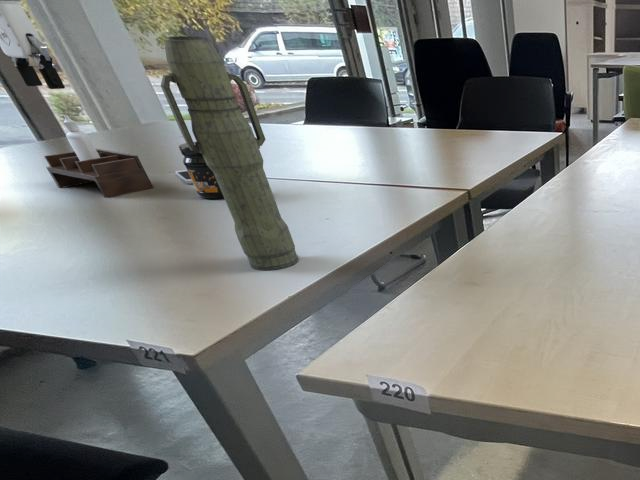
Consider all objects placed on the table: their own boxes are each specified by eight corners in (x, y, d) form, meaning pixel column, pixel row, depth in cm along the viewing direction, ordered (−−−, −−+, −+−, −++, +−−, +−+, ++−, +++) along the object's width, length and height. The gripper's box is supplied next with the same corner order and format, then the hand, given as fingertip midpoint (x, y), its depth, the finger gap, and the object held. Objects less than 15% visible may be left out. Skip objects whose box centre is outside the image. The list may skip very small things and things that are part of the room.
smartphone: (202, 171, 157) (201, 167, 157) (216, 180, 149) (214, 176, 148) (176, 174, 153) (174, 170, 153) (188, 184, 145) (186, 180, 144)
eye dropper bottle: (86, 170, 135) (55, 117, 127) (83, 166, 138) (53, 114, 130) (106, 168, 138) (77, 115, 130) (102, 164, 141) (74, 113, 133)
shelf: (106, 197, 133) (87, 163, 128) (58, 187, 140) (37, 154, 135) (153, 187, 142) (137, 155, 137) (105, 178, 149) (88, 147, 144)
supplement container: (189, 198, 135) (165, 146, 127) (221, 188, 142) (200, 139, 135) (221, 201, 133) (199, 149, 125) (252, 191, 140) (233, 142, 133)
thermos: (315, 260, 102) (238, 37, 80) (253, 276, 96) (151, 37, 73) (294, 249, 107) (216, 36, 84) (234, 264, 100) (132, 35, 77)
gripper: (-46, -7, 115) (8, 85, 126) (-5, -6, 110) (48, 90, 121) (-4, -5, 120) (44, 84, 131) (37, -3, 115) (84, 89, 126)
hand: (46, 87), depth 126 cm, fingers open, 9 cm apart
